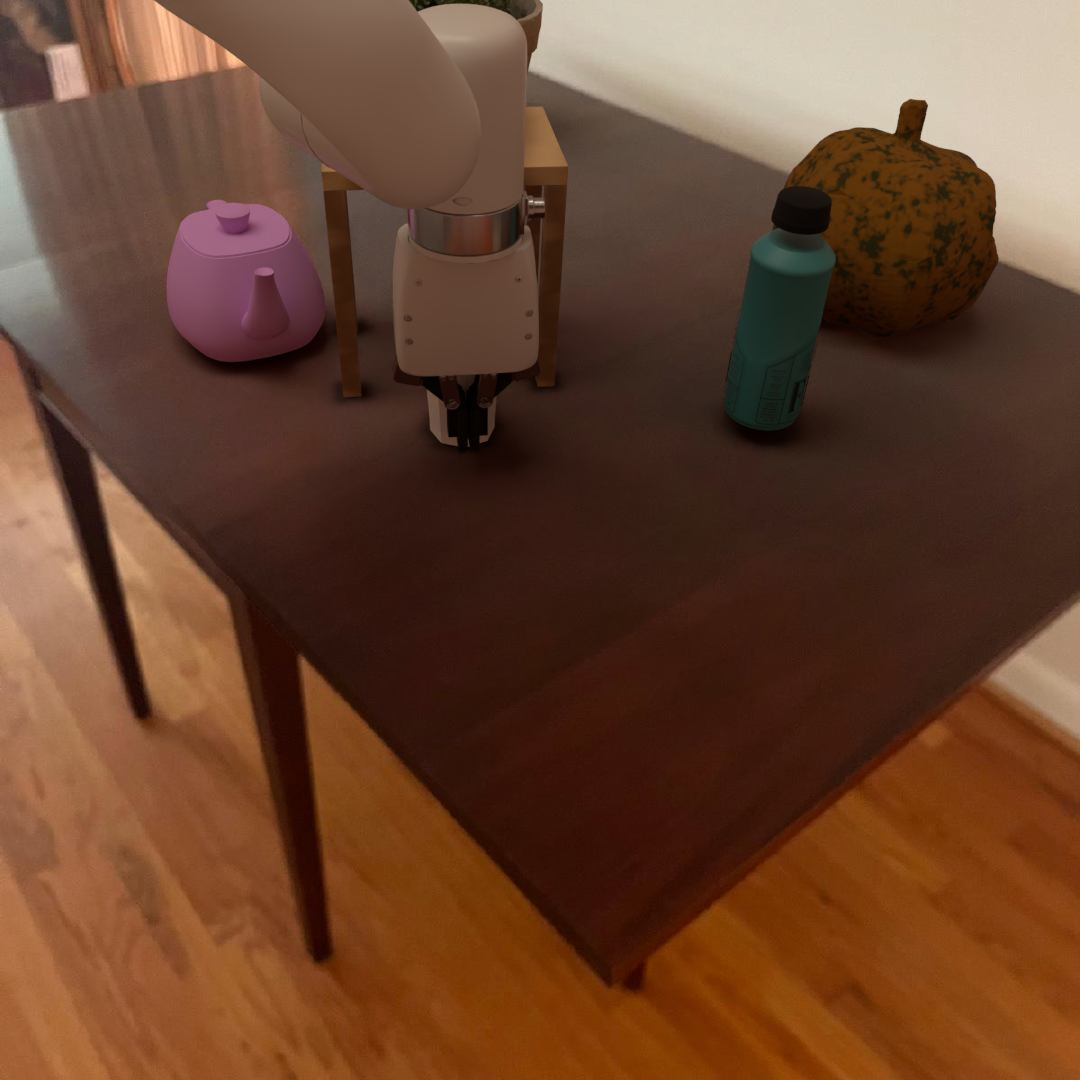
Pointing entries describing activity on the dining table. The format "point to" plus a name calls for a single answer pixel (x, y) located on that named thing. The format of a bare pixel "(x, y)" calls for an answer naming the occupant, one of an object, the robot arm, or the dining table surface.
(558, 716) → the dining table surface
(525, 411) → the dining table surface
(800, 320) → the beverage bottle
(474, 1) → the potted plant
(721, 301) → the dining table surface
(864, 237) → the decorative pumpkin
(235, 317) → the teapot
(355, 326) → the desk
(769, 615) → the dining table surface
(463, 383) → the cup
